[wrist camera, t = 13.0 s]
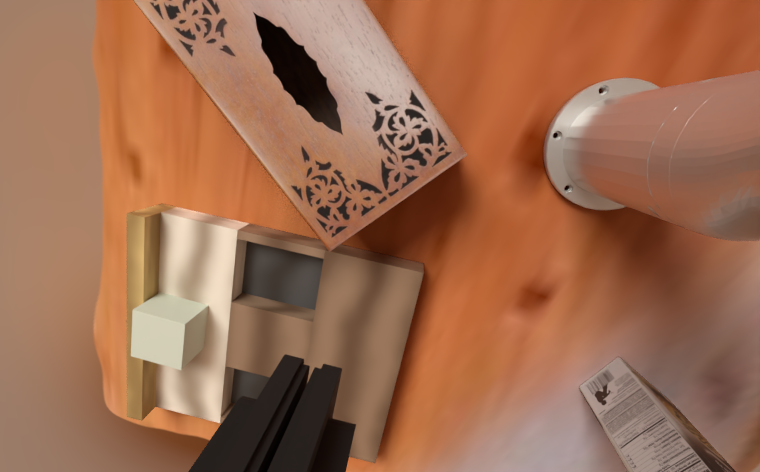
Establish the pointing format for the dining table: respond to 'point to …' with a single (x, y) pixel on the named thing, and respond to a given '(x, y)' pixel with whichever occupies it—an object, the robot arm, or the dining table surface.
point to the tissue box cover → (314, 102)
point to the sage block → (168, 330)
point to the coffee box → (647, 424)
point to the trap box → (269, 315)
